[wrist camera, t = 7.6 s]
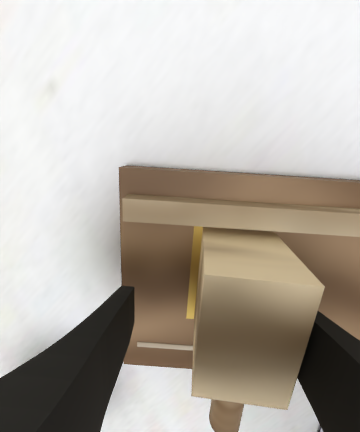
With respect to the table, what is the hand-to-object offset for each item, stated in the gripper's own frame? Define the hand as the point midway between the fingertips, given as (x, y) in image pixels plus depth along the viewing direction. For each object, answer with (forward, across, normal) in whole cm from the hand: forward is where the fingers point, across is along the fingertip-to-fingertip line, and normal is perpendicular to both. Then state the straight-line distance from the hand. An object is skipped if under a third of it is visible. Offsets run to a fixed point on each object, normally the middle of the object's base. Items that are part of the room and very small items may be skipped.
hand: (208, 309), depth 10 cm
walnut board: (+5, -6, +1) cm, 8 cm away
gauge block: (+3, -2, +2) cm, 4 cm away
